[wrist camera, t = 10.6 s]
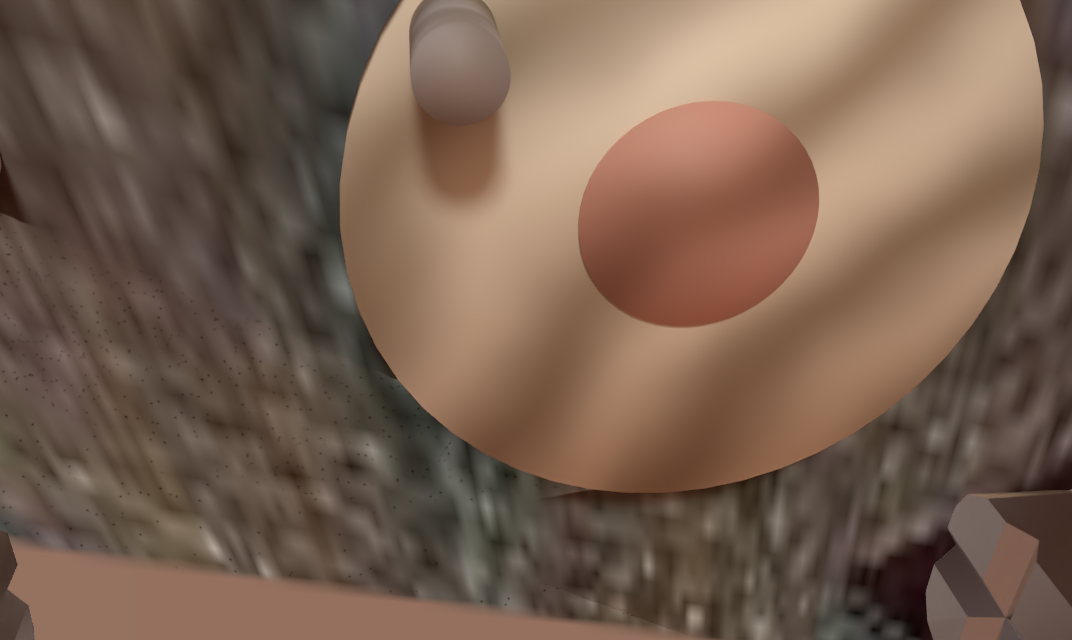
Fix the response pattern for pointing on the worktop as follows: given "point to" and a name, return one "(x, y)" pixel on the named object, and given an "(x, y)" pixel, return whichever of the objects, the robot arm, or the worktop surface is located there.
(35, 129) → the worktop surface
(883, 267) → the round wooden board
